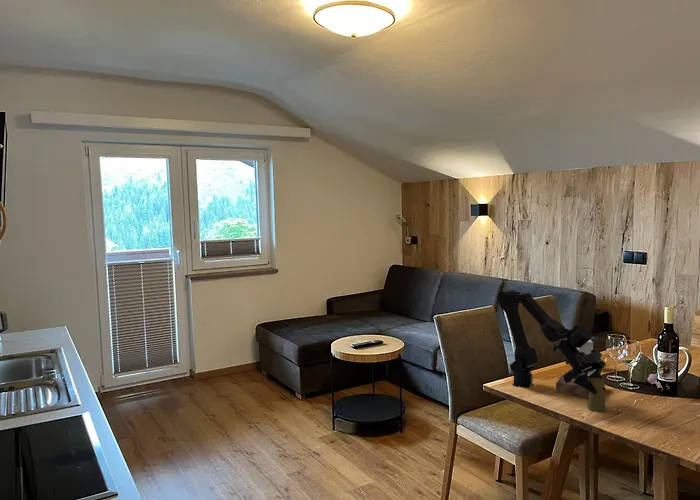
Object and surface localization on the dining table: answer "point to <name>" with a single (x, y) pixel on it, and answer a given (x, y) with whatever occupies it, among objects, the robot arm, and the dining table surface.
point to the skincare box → (586, 347)
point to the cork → (597, 396)
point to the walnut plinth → (571, 388)
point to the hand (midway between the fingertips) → (600, 391)
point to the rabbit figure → (655, 380)
